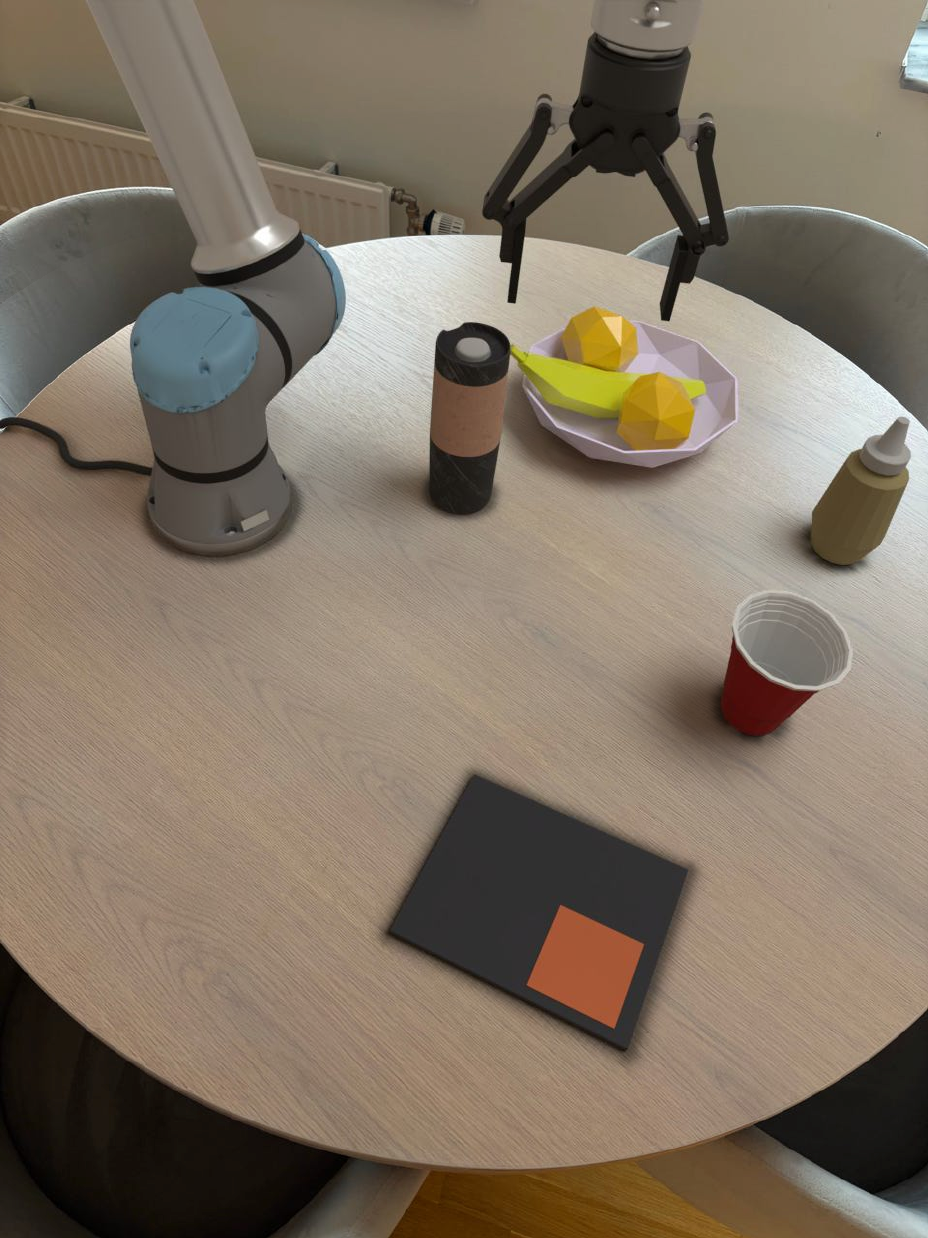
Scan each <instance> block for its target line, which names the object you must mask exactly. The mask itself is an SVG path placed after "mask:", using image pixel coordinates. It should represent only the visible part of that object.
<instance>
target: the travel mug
mask: <svg viewBox="0 0 928 1238" xmlns="http://www.w3.org/2000/svg"><path fill="white" fill-rule="evenodd" d="M510 345H511V341H510V340H509V338H508V336H507V335H506V334H505V333H504V332H503V331H501V330H500V329H498V328H496V327H494V326H492V325H490V324H487V323H482V322H477V321H476V322H474V321H466V322H465V321H464V322H462V324H461V325H460V326H458V327H456V328H452V329H449V330H446V329H441V330H440V332H439V333H438V335H437V336H436V340H435V345H434V346H435V349H434V363H433V377H432V378H433V379H432V393H431V408H430V424H429V460H428V461H429V462H428V463H429V464H428V466H429V468H428V469H429V470H428V488H429V489H428V494H429V496H430V499H431V501H432V502H433V504H434V505H435V506H436V507H437V508H439V509H441V510H442V511H444V512H447V513H450V514H454V515H471V514H475V513H477V512H479V511H481V510H483V509H484V508H485V507H486V506H487V505H488V504H489V502H490V501H491V498H492V491H493V487H494V481H495V475H496V470H497V469H496V468H497V463H498V457H499V451H500V450H499V449H500V444H501V437H502V430H503V420H504V413H505V403H506V402H505V401H506V395H507V388H508V387H507V385H508V379H509V378H508V377H509V368H510V360H511V355H510V352H511V346H510Z"/></svg>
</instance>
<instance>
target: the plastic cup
mask: <svg viewBox="0 0 928 1238" xmlns="http://www.w3.org/2000/svg"><path fill="white" fill-rule="evenodd" d="M731 632H732V639H731V645H730V653H729V658H728V663H727V666H726V672H725V676H724V681H723V690H722V695H721V699H720V707H721V711H722V714H723V717H724V718H725V720H726V722H727V723H728V724H729V725H730V726H731V727H733V728H734V729H736V730H737V731H739V732H741V733H743V734H746V735H749V736H765V735H768V734H770V733H773V732H774V731H776V730H777V729H778V728H779V727H780V726H781V725H782V724H783V723H784V722H785V721H786V720H788V719H789V718H791V717H792V716H793V714H795V713H796V712H797V711H798V710H799V709H801V707H802V706H803V705H804V704H805V703H806V702H808V701H809V699H811V698H812V697H813V696H814V695H815V694H818V693H819V692H820V691H822V690H825V689H827V688H830V687H834V686H836V685H838V684H839V683H840V682H841V681H842V680H843V679H844V678H845V677H846V676H847V674H848V673H849V672H850V671H851V669H852V663H853V655H854V649H853V646H852V644H851V641H850V638H849V634H848V632H847V630H846V629H845V628H844V627H843V625H842V624H841V623H840V622H839V620H838V618H836V616H835V615H834V614H833V613H832V612H830V611H829V610H828V609H826V608H825V607H824V606H822V605H820V604H819V603H818V602H817V601H815V600H814V599H812V598H810V597H806V596H803V595H801V594H798V593H795V592H794V591H790V590H777V589H765V590H762V591H759V592H755V593H752V594H749V595H748V596H746V597H745V598H744V600H742V601H741V602H740V603H739V604H738V605H737V607H736V608H735V612H734V616H733V620H732V624H731Z"/></svg>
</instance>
